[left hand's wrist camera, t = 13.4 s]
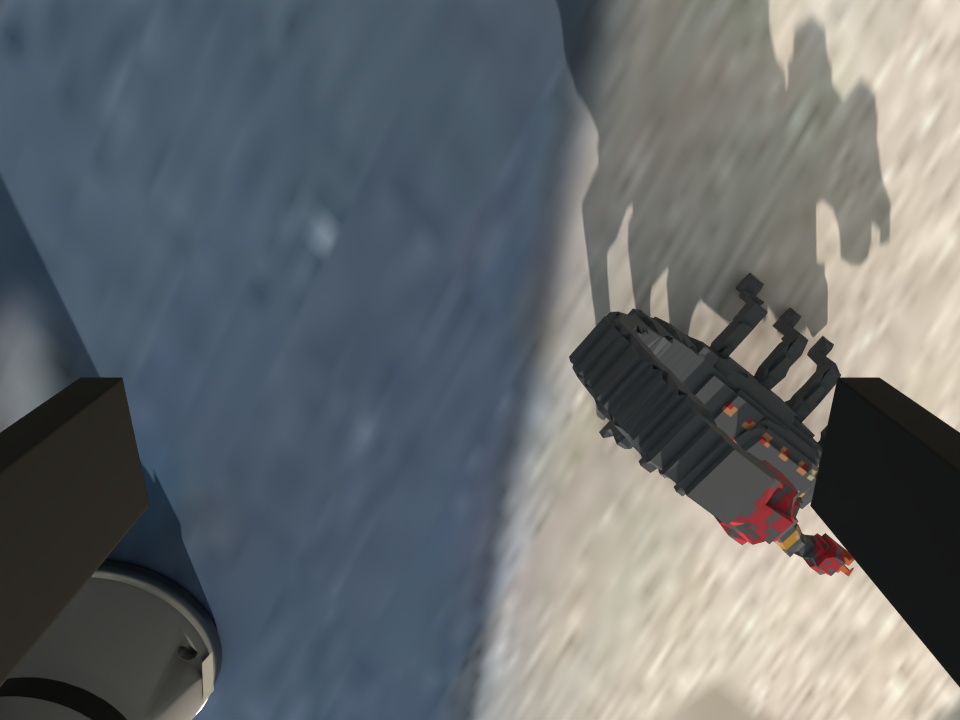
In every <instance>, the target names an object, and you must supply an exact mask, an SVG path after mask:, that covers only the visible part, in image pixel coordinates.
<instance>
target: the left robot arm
mask: <svg viewBox="0 0 960 720" xmlns="http://www.w3.org/2000/svg"><path fill="white" fill-rule="evenodd" d="M148 507H149V501H148V497H147V492H146V487H145V482H144V478H143V473H142V468H141V464H140V459H139V454H138V449H137V445H136V440H135V435H134V430H133V426H132V421H131V416H130V411H129V407H128V402H127V397H126V393H125V388H124V383H123V378H79V379H78V380H76V381H75V382H74V383H72V384H71V385H69V386H68V387H66V388H65V389H63V390H62V391H60V392H59V393H57V394H56V395H55V396H53V397H52V398H50V399H49V400H47V401H46V402H44V403H43V404H41V405H40V406H39V407H37V408H36V409H34V410H33V411H31V412H30V413H28V414H27V415H25V416H24V417H22V418H21V419H20V420H18V421H17V422H15V423H14V424H12V425H11V426H9V427H8V428H6V429H5V430H4V431H2V432H1V433H0V720H192V719H193V718H194V717H195V715H196V714H197V713H198V712H199V711H200V710H201V709H202V707H203V706H204V704H205V703H206V701H207V699H208V697H209V695H210V694H211V693H212V692H213V691H214V684H215V682H216V680H217V677H218V675H219V672H220V668H221V663H222V649H221V643H220V638H219V635H218V632H217V630H216V628H215V626H214V623H213V622H212V620H211V618H210V617H209V615H208V614H207V612H206V611H205V610H204V608H203V607H202V606H201V605H200V604H199V603H198V602H197V601H196V600H195V599H194V598H193V597H192V596H191V595H190V594H189V593H188V592H186V591H185V590H184V589H183V588H181V587H180V586H178V585H177V584H175V583H174V582H172V581H170V580H169V579H167V578H165V577H163V576H161V575H159V574H157V573H155V572H152V571H150V570H147V569H145V568H142V567H138V566H135V565H131V564H127V563H122V562H115V561H105V559H106V558H107V557H108V556H109V554H110V553H111V552H112V551H113V550H114V548H115V547H116V546H117V545H118V543H119V542H120V541H121V540H122V539H123V537H124V536H125V535H126V534H127V532H128V531H129V530H130V529H131V528H132V526H133V525H134V524H135V523H136V522H137V520H138V519H139V518H140V517H141V515H142V514H143V513H144V512H145V511H146V509H147V508H148ZM811 507H812V508H813V509H814V511H815V512H816V513H817V514H818V515H819V517H820V518H821V519H822V520H823V522H824V523H825V524H826V525H827V526H828V528H829V529H830V530H831V531H832V532H833V534H834V535H835V536H836V537H837V539H838V540H839V541H840V542H841V543H842V545H843V546H844V547H845V548H846V550H847V551H848V552H849V553H850V554H851V556H852V557H853V558H854V559H855V560H856V562H857V563H858V564H859V565H860V567H861V568H862V569H863V570H864V571H865V573H866V574H867V575H868V576H869V577H870V579H871V580H872V581H873V582H874V584H875V585H876V586H877V587H878V588H879V590H880V591H881V592H882V593H883V595H884V596H885V597H886V598H887V599H888V601H889V602H890V603H891V604H892V605H893V607H894V608H895V609H896V610H897V612H898V613H899V614H900V615H901V616H902V618H903V619H904V620H905V621H906V622H907V624H908V625H909V626H910V627H911V629H912V630H913V631H914V632H915V633H916V635H917V636H918V637H919V638H920V640H921V641H922V642H923V643H924V644H925V646H926V647H927V648H928V649H929V650H930V652H931V653H932V654H933V655H934V657H935V658H936V659H937V660H938V661H939V663H940V664H941V665H942V666H943V668H944V669H945V670H946V671H947V672H948V674H949V675H950V676H951V677H952V678H953V680H954V681H955V682H956V683H957V685H958V686H959V687H960V433H959V432H958V431H956V430H955V429H954V428H952V427H951V426H949V425H948V424H946V423H945V422H943V421H942V420H940V419H939V418H938V417H936V416H935V415H933V414H932V413H930V412H929V411H927V410H926V409H924V408H923V407H921V406H920V405H919V404H917V403H916V402H914V401H913V400H911V399H910V398H908V397H907V396H905V395H904V394H903V393H901V392H900V391H898V390H897V389H895V388H894V387H892V386H891V385H889V384H888V383H886V382H885V381H884V380H882V379H881V378H837V383H836V388H835V393H834V397H833V402H832V407H831V411H830V416H829V421H828V426H827V430H826V435H825V440H824V445H823V449H822V454H821V459H820V464H819V468H818V473H817V478H816V482H815V487H814V492H813V497H812V501H811Z"/></svg>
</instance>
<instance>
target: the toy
mask: <svg viewBox="0 0 960 720" xmlns="http://www.w3.org/2000/svg"><path fill="white" fill-rule="evenodd" d="M763 285H764V284H763V283H762V282H760V281H759V280H758V279H757V278H755V277H754V276H753V275H752V274H751V273H749V274H748V275H747V277H746V278H745V279H744V280H743V281H742V282H741V283H740V284H739V285H738V286H737V287H736V289H738V290H739V291H740V292H741V294H740V296H739V298H741V299H742V300H744V301H745V302H746V304H745V305H744V307H743V308H742V309H741V310H740V311H739V313H738V314H737V315H736V316H735V317H734V319H733V321H732V322H731V323H730V324H729V325H728V326H727V327H726V328H725V329H724V330H723V331H722V333H721V334H720V335H719V336H718V337H717V338H716V339H715V340H714V341H713V342H712V344H711V346H710V347H709V346H707V345H706V344H705V343H703V342H701V341H699V340H696V339H694V338H691V337H689V336H687V335H685V334H683V333H682V332H680V331H679V330H678V329H676V328H675V327H674V326H672V325H671V324H669V323H667V322H665V321H663V320H661V319H659V318H657V317H654V318H650V317H649V316H647V315H646V314H645V313H644V312H642V311H641V310H636V309H632V310H631V311H630V313H629V314H628V315H627V314H624V313H621V312H610V313H609V314H608V315H607V316H605V317H604V318H603V319H602V320H601V321H600V322H599V324H598V325H597V326H596V327H595V328H594V329H593V330H592V331H591V333H590V334H589V335H588V336H587V337H586V338H585V339H584V340H583V342H582V343H581V344H580V345H579V346H578V347H577V348H576V349H575V351H574V352H573V353H572V354H571V355H570V356H569V358H570V361H571V362H572V363H573V367H572V368H573V370H574V371H575V373H576V375H577V377H578V378H579V380H580V381H581V382H582V384H583V385H584V386H585V387H586V389H587V390H588V391H589V393H590V394H591V395H592V396H593V398H594V399H595V402H596V404H597V407H598V409H599V411H600V412H601V413H602V414H603V415H604V416H605V417H607V418H608V419H609V420H610V421H609V422H608V423H607V424H606V426H605V427H604V428H603V429H602V430H601V431H600V432H599V433H600V434H601V436H602V437H603V438H606V437H611V436H614V438H615V441H616V443H617V445H619V446H621V447H622V448H624V449H631V448H632V447H634V448H635V449H636V450H637V451H638V452H639V453H640V454H641V456H642V458H641V459H640V460H639V463H640V465H641V466H642V467H643V468H645V469H646V470H647V471H649V472H650V473H651V472H653V471H654V470H656V469H657V468H658V469H659V473H660V474H661V475H662V476H663V477H664V478H666V477H668V478H670V479H672V480H673V481H674V482H675V483H676V485H675V486H674V488H675V490H676V492H677V493H679V494H680V495H681V496H684V495H685V494H686V495H687V496H688V497H689V498H691V499H692V500H693V501H695V502H696V503H697V504H699V505H700V506H702V507H703V508H704V509H706V510H707V511H708V512H710V513H711V514H712V515H714V517H715V518H716V519H717V521H718V522H719V523H720V525H721V526H722V527H723V529H724V530H725V531H726V533H727V534H728V535H729V536H730V537H731V538H733V539H734V540H736V541H737V542H738V543H740V544H741V545H743V544H745V543H746V542H749V543H751V544H752V545H753V544H757V543H761V542H764V541H766V542H767V543H768V544H770V543H771V542H772V541H774V542H776V544H777V545H778V546H779V547H780V548H781V549H782V550H783V551H784V552H785V553H786V554H787V555H788V556H790V557H791V556H792V555H793V554H796V555H798V556H801V557H803V558H804V560H805V561H806V562H807V564H808V565H809V566H810V567H811V568H812V569H813V570H815V571H816V572H817V573H819V574H820V575H822V574H825V573H826V574H828V575H830V576H832V575H833V574H834V573H835V572H838V573H839V571H842V572H843V573H845V574H846V575H847V576H849V575H850V574H851V572H852V570H853V568H852V569H851V570H849V569H848V568H847V567H846V566H845V565H850V564H851V563H852V562H853V561H854V560H855V559H854V558H853V557H852V556H851V554H850V553H849V552H848V551H847V550H845V549H844V548H843V547H842V546H840V545H839V544H838V543H836V542H835V541H834V540H833V539H832V538H830V537H829V536H828V535H827V534H826V533H825V534H824V535H823V536H820V535H819V534H818V533H817V534H816V535H815V536H812V535H804V534H802V532H801V530H800V527H799V525H798V524H797V522H798V520H797V519H796V515H797V513H798V510H799V508H801V509H803V508H804V507H805V506H806V505H807V504H809V503H810V502H811V501H812V497H813V492H814V487H815V482H816V478H817V473H818V468H819V464H820V459H821V454H822V449H823V445H824V440H825V435H826V430H827V426H828V425H827V426H826V427H825V428H824V430H823V431H822V432H821V438H820V441H819V442H818V443H817V442H816V441H815V440H814V439H813V437H814V436H815V435H814V434H813V433H812V432H811V431H810V430H809V429H808V428H807V427H806V426H805V425H804V424H803V423H802V421H803V420H804V419H805V418H806V417H807V416H808V415H809V414H810V413H811V412H812V411H813V410H814V409H815V408H816V407H817V406H818V404H819V403H820V402H821V401H822V400H823V399H824V397H825V396H826V395H827V394H828V393H829V391H830V390H831V389H832V388H833V387H834V386H835V384H836V383H837V378H840V376H841V374H840V373H839V370H838V368H837V365H836V363H834V362H833V361H831V360H830V359H829V358H827V357H826V355H827V354H828V353H829V352H830V351H831V350H832V348H833V346H834V344H833V343H831V342H830V341H828V340H827V339H826V338H825V337H824V336H822V337H821V338H820V339H819V340H818V342H817V343H816V344H815V345H814V346H813V347H812V348H811V349H810V350H809V352H808V354H807V355H808V356H809V357H810V358H811V359H812V360H813V361H814V362H815V363H816V364H817V369H816V372H815V373H814V374H813V375H812V376H811V377H810V379H809V380H808V381H807V382H806V383H805V384H804V385H803V386H802V387H801V388H800V389H799V390H798V391H797V392H796V393H795V394H794V395H793V396H792V398H791V399H790V400H788V401H786V402H784V401H783V400H782V399H781V398H780V397H778V396H777V395H776V394H775V393H773V392H772V391H771V389H772V388H773V387H774V386H775V385H776V384H777V383H779V382H780V381H781V380H782V379H783V378H784V377H785V376H786V374H787V372H788V370H789V368H790V366H791V365H792V364H793V363H794V362H795V361H796V360H797V359H798V358H799V357H800V356H801V355H802V353H803V351H804V349H805V347H806V344H807V342H808V339H806V338H805V337H804V336H803V335H802V334H800V333H799V332H798V331H796V330H795V329H793V327H794V326H795V325H796V323H797V322H798V321H799V319H800V318H801V316H800V315H799V314H797V313H796V312H795V311H794V310H792V309H791V308H790V309H789V310H788V311H787V312H786V313H785V314H784V315H783V316H782V317H781V318H780V319H779V320H778V321H777V322H776V323H775V324H774V325H773V327H775V328H776V329H777V330H778V331H779V332H781V333H782V334H783V335H784V336H783V337H782V338H781V339H782V340H783V341H782V342H781V343H780V344H779V345H778V346H777V347H776V348H775V349H774V350H773V351H772V353H771V354H770V355H769V356H768V357H767V358H766V359H765V361H764V362H763V363H762V364H761V365H760V366H759V368H758V370H757V372H756V374H755V376H753V375H751V374H750V373H749V372H748V371H746V370H745V369H744V368H743V367H741V366H740V365H739V364H738V363H736V362H735V361H734V360H733V359H732V358H730V357H729V355H730V354H731V353H732V352H733V351H734V350H735V349H736V347H737V346H738V345H739V344H740V343H741V342H742V341H743V340H744V339H745V338H746V336H747V335H748V334H749V333H750V332H751V331H752V330H753V329H754V328H755V326H756V325H757V324H758V323H759V322H760V321H761V319H762V318H763V317H764V316H765V315H766V314H767V311H766V310H764V309H763V308H762V307H761V306H760V305H762V304H763V303H764V302H763V301H762V300H760V299H759V298H758V297H756V295H757V294H758V292H759V291H760V290H761V288H762V287H763ZM844 564H845V565H844Z"/></svg>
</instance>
